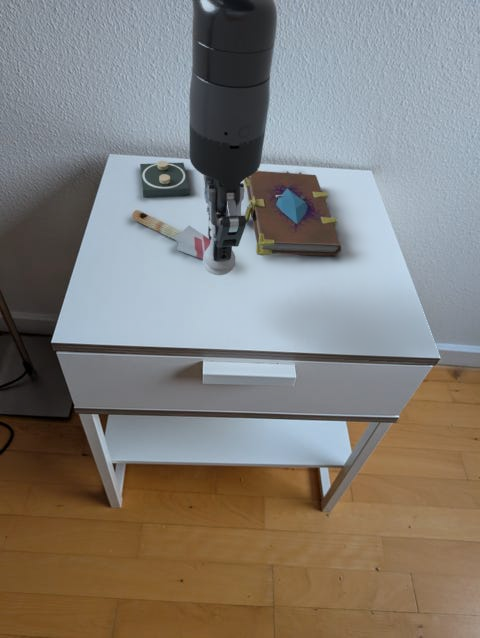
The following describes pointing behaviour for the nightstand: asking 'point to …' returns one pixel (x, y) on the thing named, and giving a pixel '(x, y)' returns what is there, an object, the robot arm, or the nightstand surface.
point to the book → (290, 214)
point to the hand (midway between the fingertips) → (219, 248)
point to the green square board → (156, 188)
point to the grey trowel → (177, 234)
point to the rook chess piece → (216, 266)
